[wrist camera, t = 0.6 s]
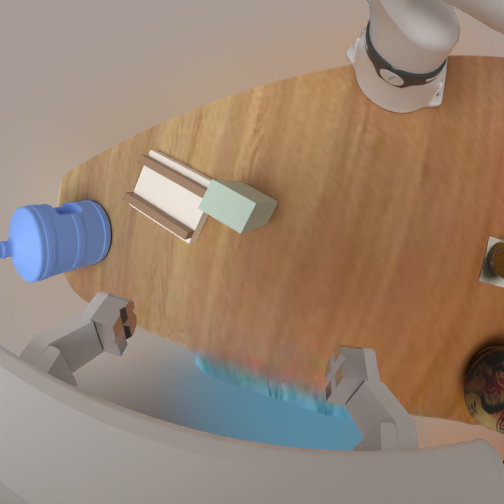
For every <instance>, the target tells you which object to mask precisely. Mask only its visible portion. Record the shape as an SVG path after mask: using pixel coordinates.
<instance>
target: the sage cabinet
mask: <svg viewBox="0 0 504 504" xmlns="http://www.w3.org/2000/svg"><path fill="white" fill-rule="evenodd" d="M277 204H278V201H276V200H275V199H273V198H271V197H269V196H267V195H266V194H264V193H262V192H260V191H258V190H257V189H255V188H253V187H251V186H249V185H248V184H246V183H241V182H233V181H225V180H216V179H212V180H211V182H210V184H209V186H208V188H207V190H206V193H205V195H204V197H203V199H202V201H201V203H200V205H199V207H198V209H200V210H202V211H203V212H205V213H207V214H208V215H210V216H212V217H213V218H215V219H217V220H218V221H220V222H222V223H224V224H225V225H227V226H229V227H230V228H232V229H234V230H235V231H237V232H239V233H240V234H241V233H244V232H247V231H249V230H252V229H255V228H258V227H260V226H263V225H266V224H267V223H268V221H269V219H270V217H271V215H272V214H273V212H274V210H275V208H276V206H277Z"/></svg>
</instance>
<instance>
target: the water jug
mask: <svg viewBox="0 0 504 504" xmlns="http://www.w3.org/2000/svg"><path fill="white" fill-rule="evenodd" d="M8 236H9V237H8V241H4V242H3V241H2V242H0V258H6V257H9V256H11V258H12V261H13V264H14V266H15V268H16V270H17V272H18V273H19V275H20V276H21V277H22V278H23V279H24V280H25V281H27V282H35V281H41V280H44V279H47V278H48V277H51V276H54V275H57V274H61V273H64V272H69V271H72V270H75V269H77V268H80V267H83V266H87V265H92V264H95V263H98V262H100V261H101V260H102V259H103V258H104V257H105V256H106V254H107V252H108V250H109V247H110V242H111V228H110V223H109V219H108V217H107V215H106V213H105V211H104V209H103V208H102V207H101V206H100V205H99V204H98V203H96V202H94V201H92V200H82V201H76V202H67V203H65V204H63V205H62V206H60V207H57V208H53V207H51V206H50V205H47V204H43V205H28V206H24V207H20V208H18V209H17V210H16V211H15V212H14V214H13V216H12V218H11V221H10V226H9V235H8Z"/></svg>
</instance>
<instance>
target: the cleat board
mask: <svg viewBox="0 0 504 504" xmlns="http://www.w3.org/2000/svg"><path fill="white" fill-rule="evenodd" d="M138 162H139V163H141V164H143V165H144V167H143V170H142V172H141V175H140V177H139V180H138V182H137V185H136V187H135V190H134V192H126V193H125V196H124V200H125V201H127V202H128V203H129V205H131V206H132V207H134V208H135V209H137V210H138V211H140V212H141V213H143V214H144V215H146V216H147V217H149V218H150V219H152V220H153V221H155V222H156V223H158V224H159V225H161V226H163V227H164V228H166V229H167V230H169V231H170V232H172V233H173V234H175V235H176V236H178V237H179V238H181V239H182V240H184V241H185V242H187V243H189V244H190V243H193V242H196V241H197V239H198V237H199V234H200V232H201V230H202V228H203V226H204V224H205V222H206V220H207V217H208V214H207V213H205V212H203V211H202V210H200V209H198V207H199V205H200V203H201V201H202V199H203V197H204V195H205V193H206V190H207V188H208V186H209V184H210V182H211V180H212V179H211V178H209V177H207V176H205V175H203V174H201V173H199V172H198V171H196V170H194V169H192V168H190V167H188V166H186V165H184V164H182V163H181V162H179V161H177V160H175V159H173V158H171V157H169V156H167V155H165V154H163V153H161V152H159V151H154V150H151V151H150V153H149V156H147V155H140V158H139V160H138Z"/></svg>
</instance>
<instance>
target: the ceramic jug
mask: <svg viewBox="0 0 504 504" xmlns="http://www.w3.org/2000/svg"><path fill="white" fill-rule="evenodd" d="M464 399H465V404H466V407H467V409H468V411H469V412H470V414H471V415H472V416H473V417H474V418H475V419H476V420H477V422H478V423H480V424H481V425H483V426H484V427H486V428H488V429H491V430H493V431H496V432H499V433H502V434H504V346H502V347H499V346H490V347H487V348H485V349H483V350H481V351H480V352H478V353H476V354H475V355H474V356H473V358H472V360H471V363H470V365H469V367H468V372H467V378H466V381H465V386H464ZM503 465H504V461H503Z"/></svg>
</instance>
